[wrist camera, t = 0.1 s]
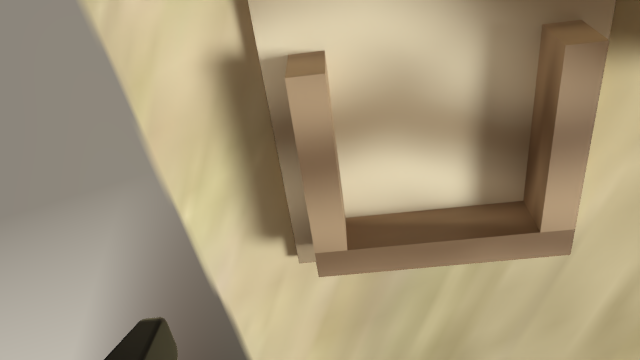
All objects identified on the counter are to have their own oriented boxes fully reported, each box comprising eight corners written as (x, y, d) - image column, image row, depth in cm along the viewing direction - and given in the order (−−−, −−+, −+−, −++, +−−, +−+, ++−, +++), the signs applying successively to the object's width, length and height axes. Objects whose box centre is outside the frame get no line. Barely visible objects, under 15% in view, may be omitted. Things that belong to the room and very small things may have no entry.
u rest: (568, 230, 27) (593, 271, 25) (299, 255, 28) (297, 297, 26) (619, -62, 20) (662, -46, 17) (247, -14, 21) (237, 8, 18)
